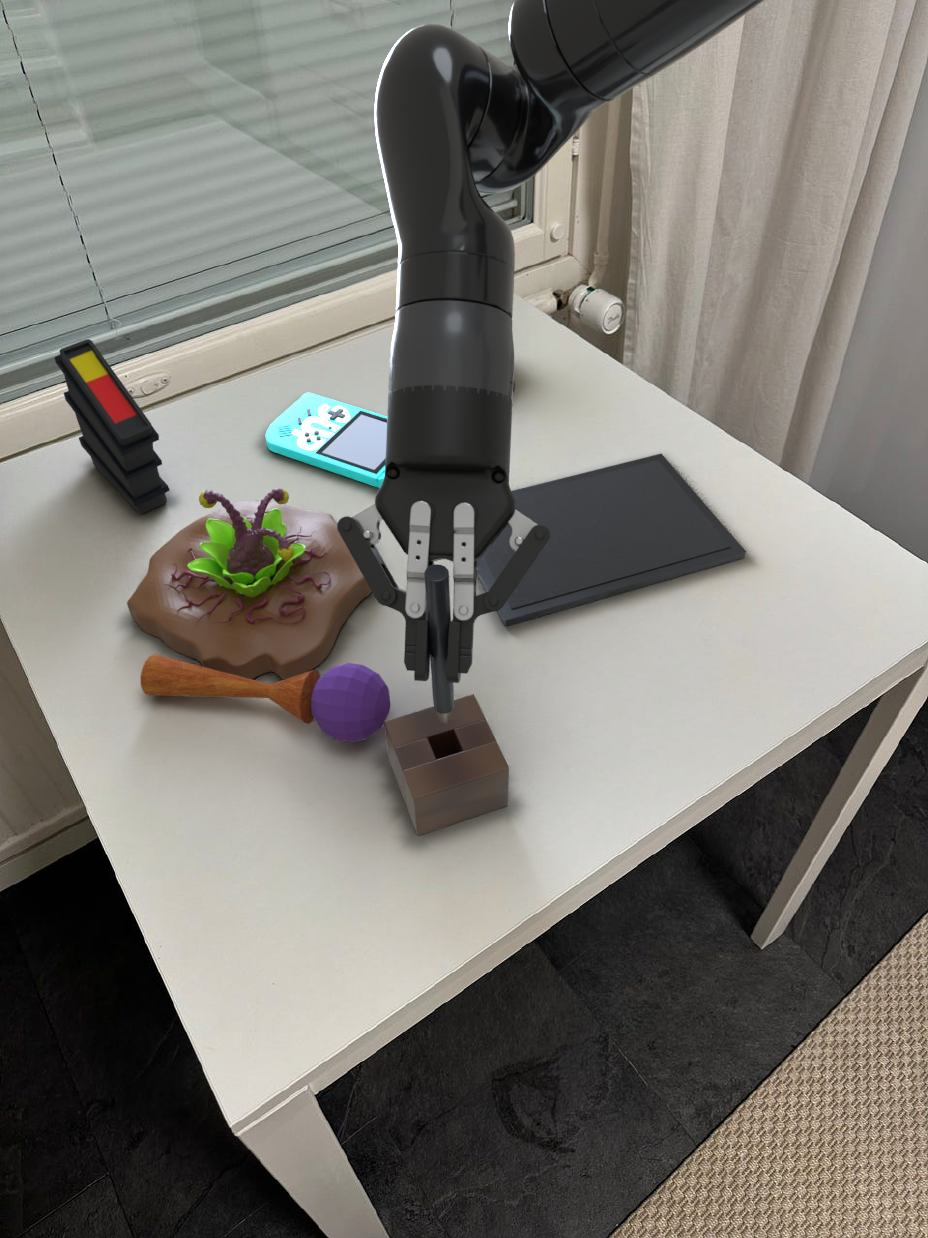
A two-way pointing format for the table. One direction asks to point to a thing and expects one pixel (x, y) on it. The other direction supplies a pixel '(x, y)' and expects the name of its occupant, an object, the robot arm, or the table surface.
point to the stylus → (439, 638)
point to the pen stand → (447, 765)
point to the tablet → (608, 537)
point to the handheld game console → (332, 438)
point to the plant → (251, 587)
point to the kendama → (286, 693)
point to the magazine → (112, 426)
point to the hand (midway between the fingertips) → (438, 679)
